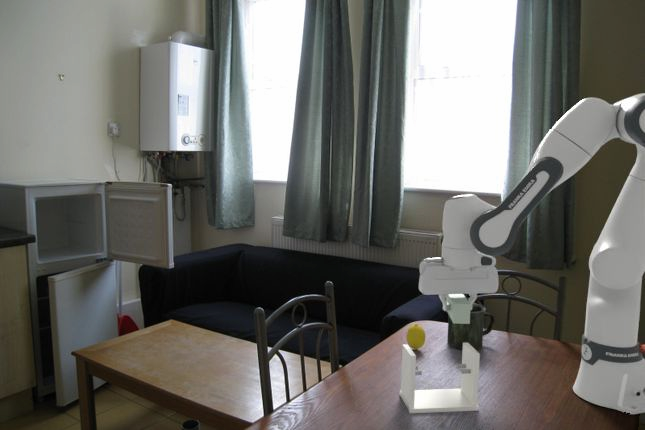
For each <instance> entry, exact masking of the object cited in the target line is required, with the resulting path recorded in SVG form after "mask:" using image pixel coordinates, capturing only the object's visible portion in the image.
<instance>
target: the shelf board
mask: <svg viewBox="0 0 645 430" xmlns="http://www.w3.org/2000/svg"><path fill="white" fill-rule="evenodd" d="M445 300H446V302H447V303H449V304H451V307H450V311H446V313H447V314H448V317H449V316H450V318H451V320H452V322H453V323H457V324H470V305H471V304H470V303H469V301H468V300H469V299H467V297H466V296H465V294H447V298H445Z"/></svg>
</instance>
